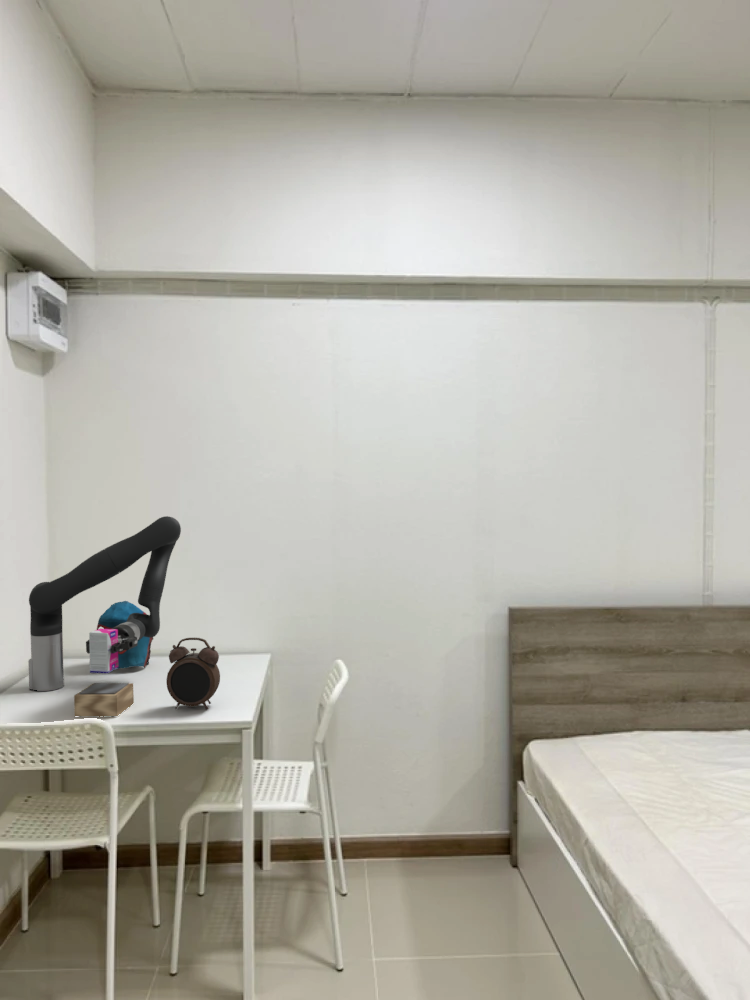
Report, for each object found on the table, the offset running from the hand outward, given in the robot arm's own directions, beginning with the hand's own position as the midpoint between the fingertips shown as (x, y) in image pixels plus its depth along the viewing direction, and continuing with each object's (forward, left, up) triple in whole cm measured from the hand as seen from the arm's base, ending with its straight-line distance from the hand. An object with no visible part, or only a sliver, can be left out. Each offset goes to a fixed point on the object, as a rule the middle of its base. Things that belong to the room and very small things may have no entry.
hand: (100, 649), depth 205 cm
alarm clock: (+25, +4, -18) cm, 31 cm away
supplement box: (0, +2, -7) cm, 7 cm away
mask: (-13, +50, -18) cm, 55 cm away
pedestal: (0, +2, -18) cm, 18 cm away
